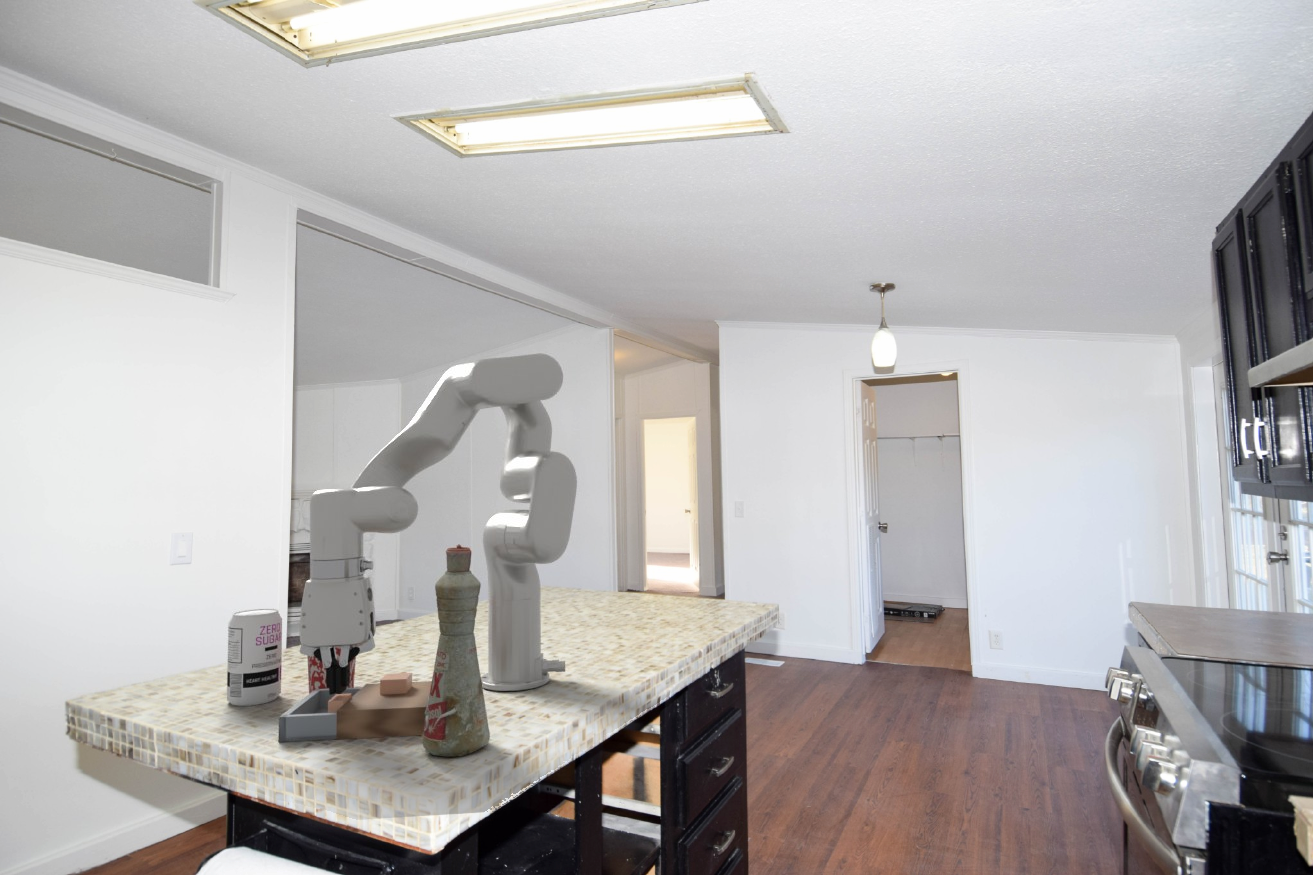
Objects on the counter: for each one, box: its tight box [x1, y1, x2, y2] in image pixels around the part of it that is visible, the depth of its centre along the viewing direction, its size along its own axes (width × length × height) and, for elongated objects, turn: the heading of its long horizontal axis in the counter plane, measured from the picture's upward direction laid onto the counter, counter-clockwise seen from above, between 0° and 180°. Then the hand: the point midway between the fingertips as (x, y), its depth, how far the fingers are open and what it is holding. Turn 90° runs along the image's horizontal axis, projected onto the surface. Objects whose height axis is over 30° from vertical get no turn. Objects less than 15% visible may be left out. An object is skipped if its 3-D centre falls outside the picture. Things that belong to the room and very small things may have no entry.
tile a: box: [328, 693, 351, 713], centre depth 113 cm, size 4×4×2 cm
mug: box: [306, 645, 357, 695], centre depth 135 cm, size 13×9×14 cm
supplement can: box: [226, 608, 283, 707], centre depth 130 cm, size 8×8×15 cm
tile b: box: [379, 672, 413, 695], centre depth 119 cm, size 4×4×2 cm
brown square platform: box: [335, 680, 432, 740], centre depth 116 cm, size 13×15×4 cm
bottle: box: [421, 543, 491, 758], centre depth 104 cm, size 9×9×28 cm
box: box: [277, 686, 363, 743], centre depth 115 cm, size 8×15×4 cm, turn 6°
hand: (338, 691), depth 113 cm, fingers closed
